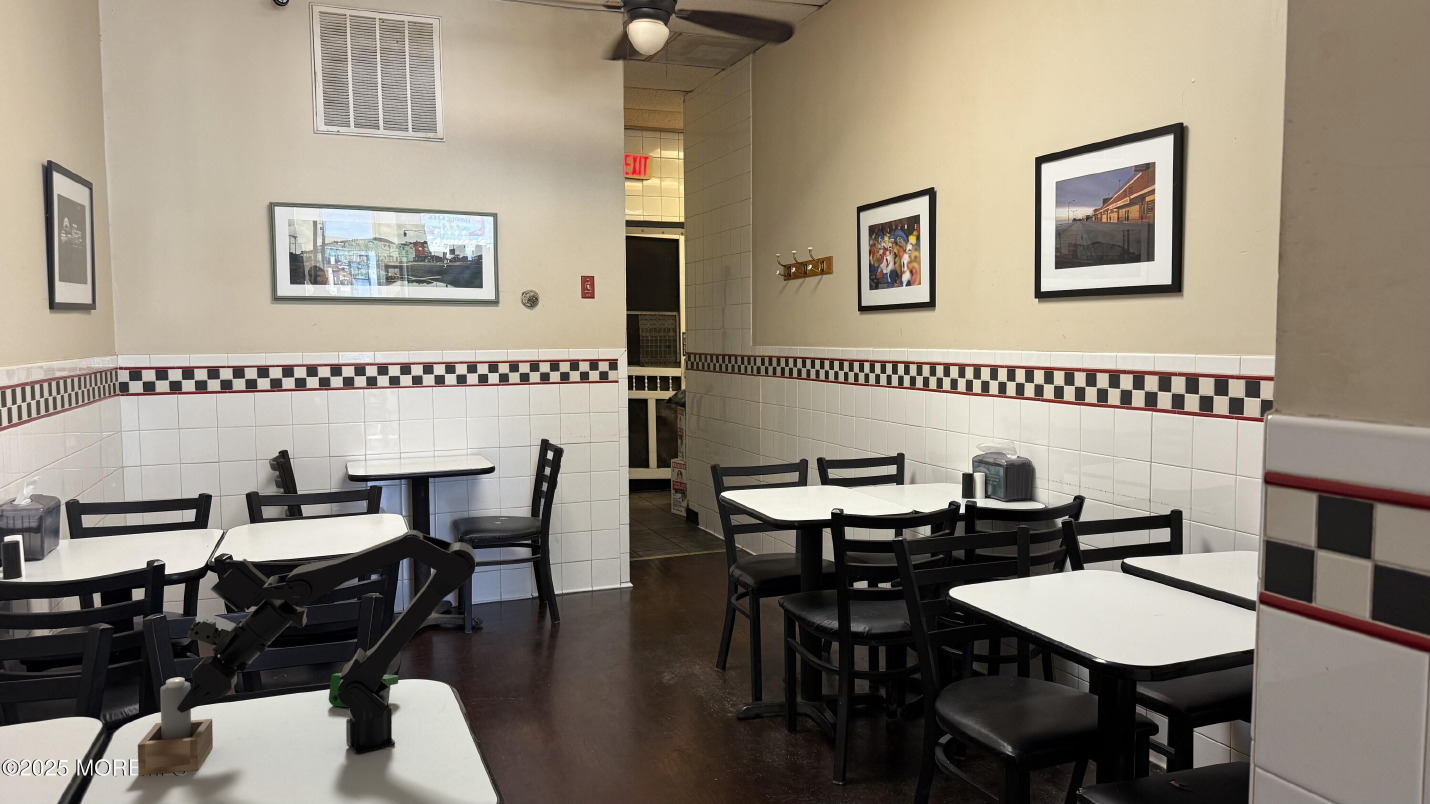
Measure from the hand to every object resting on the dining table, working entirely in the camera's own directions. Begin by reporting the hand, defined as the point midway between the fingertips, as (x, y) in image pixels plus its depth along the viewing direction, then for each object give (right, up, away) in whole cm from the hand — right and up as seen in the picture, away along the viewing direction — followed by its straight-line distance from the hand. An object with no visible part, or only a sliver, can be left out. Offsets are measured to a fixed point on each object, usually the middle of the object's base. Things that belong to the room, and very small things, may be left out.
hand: (188, 699), depth 150 cm
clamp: (+19, -9, +26) cm, 33 cm away
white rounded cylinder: (-2, -9, 0) cm, 9 cm away
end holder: (-2, -10, 0) cm, 10 cm away
